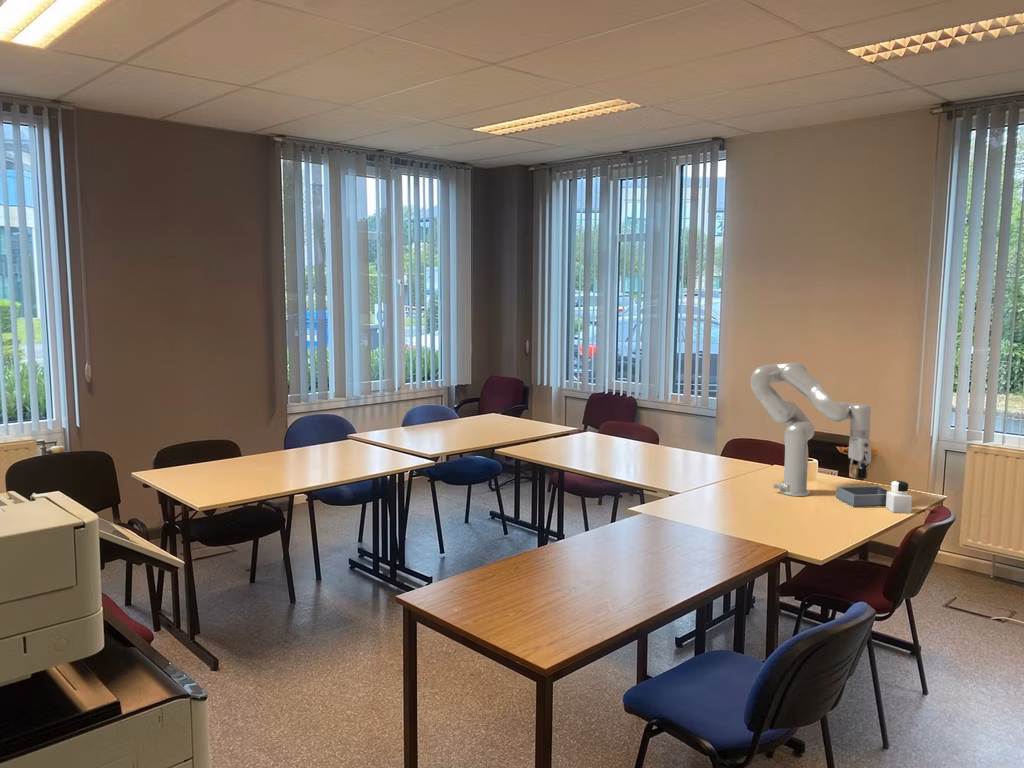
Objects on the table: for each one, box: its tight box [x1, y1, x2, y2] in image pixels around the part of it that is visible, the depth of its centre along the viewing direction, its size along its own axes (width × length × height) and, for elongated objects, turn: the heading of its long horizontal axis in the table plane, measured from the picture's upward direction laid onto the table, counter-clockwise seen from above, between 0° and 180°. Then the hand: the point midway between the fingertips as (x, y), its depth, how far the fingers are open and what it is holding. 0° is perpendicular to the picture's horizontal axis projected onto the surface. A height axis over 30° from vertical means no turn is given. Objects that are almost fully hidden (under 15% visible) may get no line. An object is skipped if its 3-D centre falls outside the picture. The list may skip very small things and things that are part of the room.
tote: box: [835, 485, 890, 508], centre depth 309 cm, size 19×14×5 cm
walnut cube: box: [848, 464, 869, 480], centre depth 307 cm, size 5×5×5 cm
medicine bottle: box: [885, 480, 913, 514], centre depth 296 cm, size 7×7×12 cm
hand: (858, 475), depth 307 cm, fingers closed on walnut cube, 4 cm apart
